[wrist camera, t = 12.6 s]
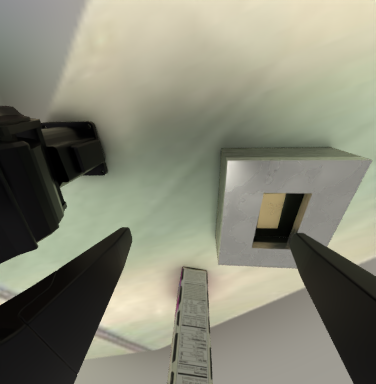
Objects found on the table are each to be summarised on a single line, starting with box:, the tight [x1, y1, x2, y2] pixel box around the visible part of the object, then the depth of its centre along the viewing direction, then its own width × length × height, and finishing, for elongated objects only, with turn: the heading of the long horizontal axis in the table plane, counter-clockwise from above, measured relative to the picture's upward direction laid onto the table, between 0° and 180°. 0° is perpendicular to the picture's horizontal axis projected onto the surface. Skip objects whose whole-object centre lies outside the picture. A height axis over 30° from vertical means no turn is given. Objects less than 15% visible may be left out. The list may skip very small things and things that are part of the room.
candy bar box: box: [167, 267, 213, 384], centre depth 24 cm, size 11×5×16 cm, turn 173°
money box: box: [215, 147, 372, 268], centre depth 19 cm, size 12×14×5 cm
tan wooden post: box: [256, 193, 286, 228], centre depth 20 cm, size 2×5×3 cm, turn 4°
